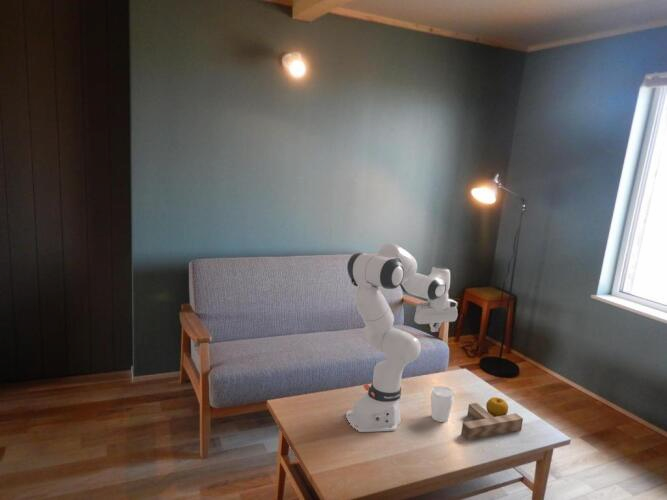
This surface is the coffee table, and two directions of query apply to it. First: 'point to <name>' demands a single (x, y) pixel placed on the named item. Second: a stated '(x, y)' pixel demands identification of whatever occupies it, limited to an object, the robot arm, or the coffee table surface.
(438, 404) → the cup
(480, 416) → the t block
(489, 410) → the apple
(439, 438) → the coffee table surface
